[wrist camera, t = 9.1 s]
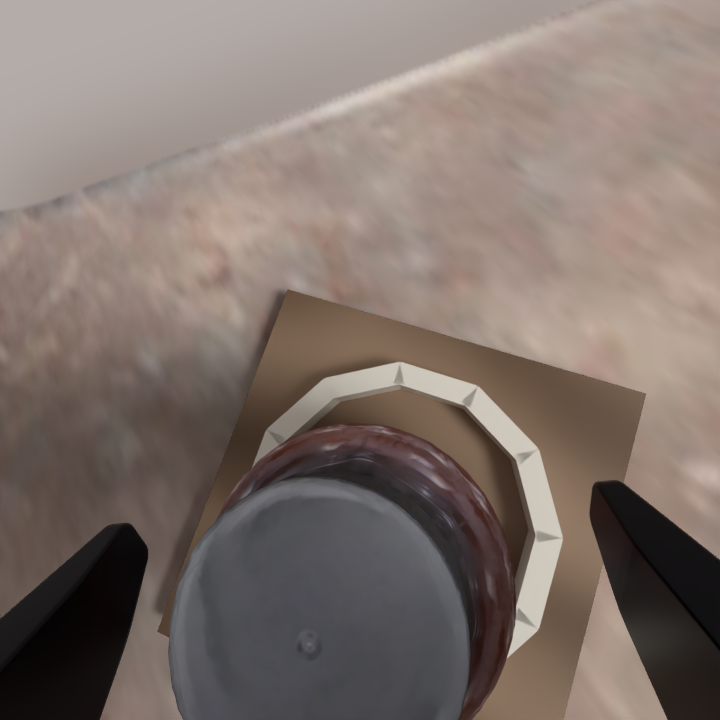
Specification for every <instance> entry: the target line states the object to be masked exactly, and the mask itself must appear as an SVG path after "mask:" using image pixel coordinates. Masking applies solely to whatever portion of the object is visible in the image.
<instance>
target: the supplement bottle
mask: <svg viewBox="0 0 720 720" xmlns="http://www.w3.org/2000/svg"><path fill="white" fill-rule="evenodd" d="M515 620H516V592H515V577H514V572H513V561H512V559H511V555H510V551H509V547H508V543H507V539H506V536H505V533H504V531H503V529H502V526H501V524H500V522H499V520H498V518H497V516H496V514H495V512H494V509H493V508H492V506H491V504H490V502H489V500H488V499H487V497H486V495H485V494H484V492H483V491H482V490H481V488H480V487H479V486H478V485H477V483H476V482H475V481H474V480H473V478H472V477H471V476H470V475H469V473H468V472H467V471H466V470H465V469H464V468H463V467H462V466H460V465H459V464H458V463H457V462H456V461H455V460H454V459H453V458H452V457H451V456H449V455H447V454H446V453H445V452H443V451H442V450H441V449H439V448H438V447H436V446H435V445H434V444H432V443H431V442H429V441H427V440H425V439H422V438H420V437H418V436H415V435H413V434H411V433H408V432H405V431H402V430H400V429H396V428H393V427H389V426H383V425H378V424H367V423H341V424H337V425H330V426H325V427H322V428H318V429H314V430H311V431H308V432H305V433H302V434H300V435H297V436H295V437H293V438H291V439H289V440H287V441H286V442H284V443H282V444H280V445H279V446H277V447H276V448H274V449H273V450H271V451H270V452H269V453H268V454H266V455H265V456H264V457H262V458H261V459H260V460H259V461H258V462H257V463H256V464H255V465H254V466H253V467H252V468H251V469H250V470H249V471H247V472H246V473H245V474H244V475H243V476H242V477H241V478H240V480H239V482H238V483H237V485H236V486H235V487H234V489H233V490H232V491H231V493H230V494H229V496H228V498H227V500H226V501H225V503H224V505H223V507H222V508H221V511H220V513H219V515H218V517H217V519H216V521H215V523H214V524H213V525H212V526H211V527H210V528H209V529H208V530H207V531H206V532H205V533H204V535H203V536H202V538H201V539H200V541H199V542H198V544H197V545H196V547H195V548H194V549H193V551H192V552H191V555H190V558H189V560H188V562H187V564H186V566H185V568H184V570H183V573H182V575H181V577H180V580H179V582H178V585H177V589H176V594H175V598H174V602H173V606H172V609H171V614H170V619H169V651H168V654H169V664H170V672H171V681H172V689H173V691H174V694H175V697H176V702H177V707H178V710H179V712H180V714H181V716H182V718H183V720H472V719H473V718H474V717H475V715H476V714H477V713H478V712H479V711H480V710H481V708H482V707H483V705H484V703H485V702H486V700H487V698H488V697H489V696H490V694H491V693H492V691H493V690H494V688H495V686H496V684H497V682H498V680H499V677H500V675H501V673H502V670H503V668H504V665H505V662H506V659H507V656H508V653H509V649H510V646H511V642H512V638H513V632H514V628H515Z"/></svg>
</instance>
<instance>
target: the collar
mask: <svg viewBox="0 0 720 720" xmlns="http://www.w3.org/2000/svg"><path fill="white" fill-rule="evenodd" d="M399 389H403V390H406V391H409V392H412V393H415V394H418V395H421V396H424V397H428V398H431V399H434V400H437V401H440V402H443V403H446V404H449V405H452V406H455V407H458V408H462V409H464V410H465V411H466V413H467V414H468V415H469V416H470V417H471V418H472V419H473V420H474V421H475V422H476V423H477V424H478V425H479V426H480V428H481V429H482V430H483V431H484V432H485V433H486V434H487V435H488V436H489V437H490V438H491V439H492V440H493V441H494V443H495V444H496V445H497V446H498V447H499V448H500V449H501V450H502V451H503V452H504V453H505V454H506V455H507V456H508V457H509V459H510V460H511V463H512V467H513V471H514V475H515V479H516V483H517V487H518V491H519V495H520V499H521V503H522V506H523V510H524V514H525V518H526V522H527V526H528V534H527V537H526V541H525V544H524V548H523V551H522V555H521V559H520V562H519V566H518V569H517V573H516V576H515V592H516V620H515V628H514V632H513V638H512V642H511V646H510V649H509V653H508V656H507V658H508V657H509V656H510V655H511V654H513V653H514V652H515V651H516V650H517V649H518V648H519V647H520V646H521V645H522V644H524V643H525V642H526V641H527V640H528V639H529V638H530V637H531V636H532V635H534V634H535V633H536V632H537V631H538V629H539V627H540V623H541V620H542V616H543V612H544V609H545V605H546V601H547V597H548V594H549V590H550V586H551V583H552V579H553V575H554V571H555V568H556V564H557V560H558V557H559V553H560V549H561V545H562V542H563V539H562V538H563V536H562V532H561V529H560V525H559V521H558V517H557V514H556V510H555V506H554V503H553V499H552V495H551V492H550V488H549V484H548V481H547V477H546V473H545V469H544V466H543V462H542V458H541V455H540V451H539V450H537V449H538V447H537V446H536V445H535V444H534V443H533V442H532V441H531V440H530V439H529V438H528V437H527V436H526V435H525V434H524V433H523V432H522V431H521V430H520V429H519V428H518V427H517V426H516V425H515V424H514V423H513V422H512V420H511V419H510V418H509V417H508V416H507V415H506V414H505V413H504V412H503V411H502V410H501V409H500V408H499V407H498V406H497V405H496V404H495V403H494V402H493V401H492V400H491V399H490V398H489V397H488V396H487V394H486V393H485V392H484V391H483V390H482V389H481V388H480V387H479V386H478V387H477V385H474V384H471V383H468V382H464V381H461V380H458V379H455V378H451V377H448V376H445V375H442V374H439V373H435V372H432V371H429V370H426V369H422V368H419V367H416V366H413V365H410V364H406V363H403V362H396V363H392V364H387V365H382V366H378V367H373V368H368V369H364V370H359V371H355V372H350V373H345V374H341V375H336V376H332V377H327V378H325V379H323V380H322V381H320V382H319V383H318V384H317V385H316V386H315V387H314V388H313V389H311V390H310V391H309V392H308V393H307V394H306V395H305V396H303V397H302V398H301V399H300V400H299V401H298V402H297V403H296V404H294V405H293V406H292V407H291V408H290V409H289V410H288V411H287V412H285V413H284V414H283V415H282V416H281V417H280V418H279V419H277V420H276V421H275V422H274V423H273V424H272V425H271V426H270V427H268V428H267V430H266V431H265V434H264V437H263V439H262V442H261V445H260V447H259V450H258V453H257V456H256V458H255V461H254V464H253V466H254V465H255V464H256V463H257V462H258V461H259V460H260V459H261V458H262V457H264V456H265V455H266V454H268V453H269V452H270V451H271V450H273V449H274V448H276V447H277V446H279V445H280V444H282V443H284V442H286V441H287V440H289V439H291V438H293V437H295V436H297V435H300V434H302V433H305V432H307V431H308V430H309V429H310V428H311V427H312V426H314V425H315V424H316V423H317V422H318V421H319V420H320V419H321V418H323V417H324V416H325V415H326V414H327V413H328V412H329V411H331V410H332V409H333V408H334V407H335V406H336V405H337V404H338V403H340V402H342V401H347V400H351V399H356V398H361V397H366V396H370V395H375V394H380V393H385V392H390V391H394V390H399ZM253 466H252V467H253Z"/></svg>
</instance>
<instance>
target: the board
mask: <svg viewBox="0 0 720 720" xmlns="http://www.w3.org/2000/svg"><path fill="white" fill-rule="evenodd" d="M396 362H403V363H406V364H410V365H413V366H416V367H419V368H422V369H426V370H429V371H432V372H435V373H439V374H442V375H445V376H448V377H451V378H455V379H458V380H461V381H464V382H468V383H471V384H474V385H477V387H478V386H479V387H480V388H481V389H482V390H483V391H484V392H485V393H486V394H487V396H488V397H489V398H490V399H491V400H492V401H493V402H494V403H495V404H496V405H497V406H498V407H499V408H500V409H501V410H502V411H503V412H504V413H505V414H506V415H507V416H508V417H509V418H510V419H511V420H512V422H513V423H514V424H515V425H516V426H517V427H518V428H519V429H520V430H521V431H522V432H523V433H524V434H525V435H526V436H527V437H528V438H529V439H530V440H531V441H532V442H533V443H534V444H535V445H536V446H537V447H538V449H537V450H539V451H540V455H541V458H542V462H543V466H544V469H545V473H546V477H547V481H548V484H549V488H550V492H551V495H552V499H553V503H554V506H555V510H556V514H557V517H558V521H559V525H560V529H561V532H562V536H563V538H562V539H563V542H562V545H561V549H560V553H559V557H558V560H557V564H556V568H555V571H554V575H553V579H552V583H551V586H550V590H549V594H548V597H547V601H546V605H545V609H544V612H543V616H542V620H541V623H540V627H539V629H538V631H537V632H536V633H535V634H534V635H532V636H531V637H530V638H529V639H528V640H527V641H526V642H525V643H524V644H522V645H521V646H520V647H519V648H518V649H517V650H516V651H515V652H514V653H513V654H511V655H510V656H509V657H508V658H507V659H506V662H505V665H504V668H503V670H502V673H501V675H500V677H499V680H498V682H497V684H496V686H495V688H494V690H493V691H492V693H491V694H490V696H489V697H488V698H487V700H486V702H485V703H484V705H483V707H482V708H481V710H480V711H479V712H478V713H477V714H476V715H475V717H474V718H473V719H472V720H563V718H564V714H565V710H566V706H567V702H568V698H569V694H570V690H571V687H572V683H573V679H574V675H575V671H576V667H577V663H578V659H579V655H580V651H581V647H582V643H583V639H584V636H585V632H586V628H587V624H588V620H589V616H590V612H591V608H592V604H593V600H594V596H595V592H596V588H597V584H598V581H599V577H600V573H601V569H602V565H603V559H602V556H601V553H600V550H599V547H598V544H597V541H596V538H595V535H594V531H593V528H592V525H591V521H590V516H589V510H590V502H591V494H592V487H593V484H594V483H595V482H597V481H606V480H618V481H621V482H622V483H623V482H624V479H625V475H626V471H627V467H628V463H629V459H630V455H631V451H632V447H633V443H634V439H635V435H636V431H637V427H638V424H639V420H640V416H641V412H642V408H643V404H644V400H645V396H646V394H645V393H642V392H639V391H635V390H632V389H628V388H625V387H621V386H618V385H614V384H611V383H608V382H604V381H601V380H597V379H594V378H590V377H587V376H584V375H580V374H577V373H573V372H570V371H566V370H563V369H559V368H556V367H553V366H549V365H546V364H542V363H539V362H535V361H532V360H529V359H525V358H522V357H518V356H515V355H511V354H508V353H504V352H501V351H498V350H494V349H491V348H487V347H484V346H480V345H477V344H473V343H470V342H467V341H463V340H460V339H456V338H453V337H449V336H446V335H443V334H439V333H436V332H432V331H429V330H425V329H422V328H418V327H415V326H412V325H408V324H405V323H401V322H398V321H394V320H391V319H388V318H384V317H381V316H377V315H374V314H370V313H367V312H363V311H360V310H357V309H353V308H350V307H346V306H343V305H339V304H336V303H332V302H329V301H326V300H322V299H319V298H315V297H312V296H308V295H305V294H302V293H298V292H295V291H291V290H287V293H286V296H285V298H284V301H283V304H282V306H281V309H280V311H279V314H278V317H277V319H276V322H275V325H274V327H273V330H272V332H271V335H270V338H269V340H268V343H267V345H266V348H265V351H264V353H263V356H262V359H261V361H260V364H259V366H258V369H257V372H256V374H255V377H254V380H253V382H252V385H251V387H250V390H249V393H248V395H247V398H246V401H245V403H244V406H243V408H242V411H241V414H240V416H239V419H238V422H237V424H236V427H235V429H234V432H233V435H232V437H231V440H230V442H229V445H228V448H227V450H226V453H225V456H224V458H223V461H222V463H221V466H220V469H219V471H218V474H217V477H216V479H215V482H214V484H213V487H212V490H211V492H210V495H209V498H208V500H207V503H206V505H205V508H204V511H203V513H202V516H201V518H200V521H199V524H198V526H197V529H196V532H195V534H194V537H193V539H192V542H191V545H190V547H189V550H188V553H187V555H186V558H185V560H184V563H183V566H182V568H181V571H180V574H179V576H178V579H177V581H176V584H175V587H174V589H173V592H172V594H171V597H170V600H169V602H168V605H167V608H166V610H165V613H164V615H163V618H162V621H161V623H160V626H159V629H158V631H157V632H159V633H161V634H163V635H165V636H167V637H169V619H170V614H171V609H172V606H173V602H174V598H175V594H176V589H177V585H178V582H179V580H180V577H181V575H182V573H183V570H184V568H185V566H186V564H187V562H188V560H189V558H190V555H191V552H192V551H193V549H194V548H195V547H196V545H197V544H198V542H199V541H200V539H201V538H202V536H203V535H204V533H205V532H206V531H207V530H208V529H209V528H210V527H211V526H212V525H213V524H214V523H215V521H216V519H217V517H218V515H219V513H220V511H221V508H222V507H223V505H224V503H225V501H226V500H227V498H228V496H229V494H230V493H231V491H232V490H233V489H234V487H235V486H236V485H237V483H238V482H239V480H240V478H241V477H242V476H243V475H244V474H245V473H246V472H247V471H249V470H250V469H251V468H252V466H253V464H254V461H255V458H256V456H257V453H258V450H259V447H260V445H261V442H262V439H263V437H264V434H265V431H266V430H267V428H268V427H270V426H271V425H272V424H273V423H274V422H275V421H276V420H277V419H279V418H280V417H281V416H282V415H283V414H284V413H285V412H287V411H288V410H289V409H290V408H291V407H292V406H293V405H294V404H296V403H297V402H298V401H299V400H300V399H301V398H302V397H303V396H305V395H306V394H307V393H308V392H309V391H310V390H311V389H313V388H314V387H315V386H316V385H317V384H318V383H319V382H320V381H322V380H323V379H325V378H327V377H332V376H336V375H341V374H345V373H350V372H355V371H359V370H364V369H368V368H373V367H378V366H382V365H387V364H392V363H396ZM341 423H367V424H378V425H383V426H389V427H393V428H396V429H400V430H402V431H405V432H408V433H411V434H413V435H415V436H418V437H420V438H422V439H425V440H427V441H429V442H431V443H432V444H434V445H435V446H436V447H438V448H439V449H441V450H442V451H443V452H445V453H446V454H447V455H449V456H451V457H452V458H453V459H454V460H455V461H456V462H457V463H458V464H459V465H460V466H462V467H463V468H464V469H465V470H466V471H467V472H468V473H469V475H470V476H471V477H472V478H473V480H474V481H475V482H476V483H477V485H478V486H479V487H480V488H481V490H482V491H483V492H484V494H485V495H486V497H487V499H488V500H489V502H490V504H491V506H492V508H493V509H494V512H495V514H496V516H497V518H498V520H499V522H500V524H501V526H502V529H503V531H504V533H505V536H506V539H507V543H508V547H509V551H510V555H511V559H512V561H513V572H514V577H515V576H516V573H517V569H518V566H519V562H520V559H521V555H522V551H523V548H524V544H525V541H526V537H527V534H528V526H527V522H526V518H525V514H524V510H523V506H522V503H521V499H520V495H519V491H518V487H517V483H516V479H515V475H514V471H513V467H512V463H511V460H510V459H509V457H508V456H507V455H506V454H505V453H504V452H503V451H502V450H501V449H500V448H499V447H498V446H497V445H496V444H495V443H494V441H493V440H492V439H491V438H490V437H489V436H488V435H487V434H486V433H485V432H484V431H483V430H482V429H481V428H480V426H479V425H478V424H477V423H476V422H475V421H474V420H473V419H472V418H471V417H470V416H469V415H468V414H467V413H466V411H465V410H464V409H462V408H458V407H455V406H452V405H449V404H446V403H443V402H440V401H437V400H434V399H431V398H428V397H424V396H421V395H418V394H415V393H412V392H409V391H406V390H403V389H399V390H394V391H390V392H385V393H380V394H375V395H370V396H366V397H361V398H356V399H351V400H347V401H342V402H340V403H338V404H337V405H336V406H335V407H334V408H333V409H332V410H331V411H329V412H328V413H327V414H326V415H325V416H324V417H323V418H321V419H320V420H319V421H318V422H317V423H316V424H315V425H314V426H312V427H311V428H310V429H309V430H308V431H311V430H314V429H318V428H322V427H325V426H330V425H337V424H341ZM308 431H307V432H308Z"/></svg>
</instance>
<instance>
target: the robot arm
mask: <svg viewBox="0 0 720 720" xmlns="http://www.w3.org/2000/svg"><path fill="white" fill-rule="evenodd" d="M589 516H590V521H591V525H592V528H593V531H594V535H595V538H596V541H597V544H598V547H599V550H600V553H601V556H602V559H603V562H604V565H605V569H606V572H607V575H608V578H609V581H610V584H611V587H612V590H613V593H614V596H615V599H616V602H617V605H618V608H619V611H620V613H621V615H622V618H623V620H624V623H625V625H626V627H627V630H628V632H629V634H630V636H631V638H632V641H633V643H634V645H635V647H636V650H637V652H638V654H639V656H640V659H641V661H642V663H643V665H644V668H645V670H646V672H647V674H648V677H649V679H650V681H651V683H652V686H653V688H654V690H655V692H656V694H657V697H658V699H659V701H660V703H661V706H662V708H663V710H664V712H665V715H666V717H667V719H668V720H720V559H718V558H717V557H716V556H714V555H713V554H712V553H711V552H709V551H708V550H707V549H706V548H704V547H703V546H702V545H701V544H699V543H698V542H697V541H696V540H694V539H693V538H692V537H691V536H689V535H688V534H687V533H686V532H684V531H683V530H682V529H681V528H679V527H678V526H677V525H675V524H674V523H673V522H672V521H670V520H669V519H668V518H667V517H665V516H664V515H663V514H662V513H660V512H659V511H658V510H657V509H655V508H654V507H653V506H652V505H650V504H649V503H648V502H647V501H645V500H644V499H643V498H641V497H640V496H639V495H638V494H636V493H635V492H634V491H633V490H631V489H630V488H629V487H628V486H626V485H625V484H624V483H622V482H621V481H618V480H606V481H597V482H595V483H594V484H593V487H592V494H591V502H590V510H589ZM147 560H148V549H147V546H146V544H145V543H144V541H143V540H142V538H141V537H140V536H139V534H138V533H137V531H136V530H135V528H134V527H133V526H132V525H131V524H129V523H119V524H111V525H108V526H107V527H105V528H104V529H103V530H102V531H101V532H99V533H98V534H97V535H96V536H95V537H94V538H93V539H91V540H90V541H89V542H88V543H87V544H86V545H85V546H83V547H82V548H81V549H80V550H79V551H78V552H76V553H75V554H74V555H73V556H72V557H71V558H70V559H68V560H67V561H66V562H65V563H64V564H63V565H62V566H60V567H59V568H58V569H57V570H56V571H55V572H54V573H52V574H51V575H50V576H49V577H48V578H47V579H45V580H44V581H43V582H42V583H41V584H40V585H39V586H37V587H36V588H35V589H34V590H33V591H32V592H31V593H29V594H28V595H27V596H26V597H25V598H24V599H23V600H21V601H20V602H19V603H18V604H17V605H16V606H14V607H13V608H12V609H11V610H10V611H9V612H8V613H6V614H5V615H4V616H3V617H2V618H1V619H0V720H100V717H101V715H102V712H103V709H104V706H105V703H106V700H107V697H108V694H109V691H110V689H111V686H112V683H113V680H114V677H115V674H116V671H117V668H118V665H119V663H120V660H121V657H122V654H123V651H124V648H125V645H126V642H127V639H128V636H129V632H130V628H131V625H132V621H133V617H134V613H135V609H136V605H137V601H138V597H139V593H140V589H141V585H142V581H143V576H144V572H145V568H146V564H147Z"/></svg>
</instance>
